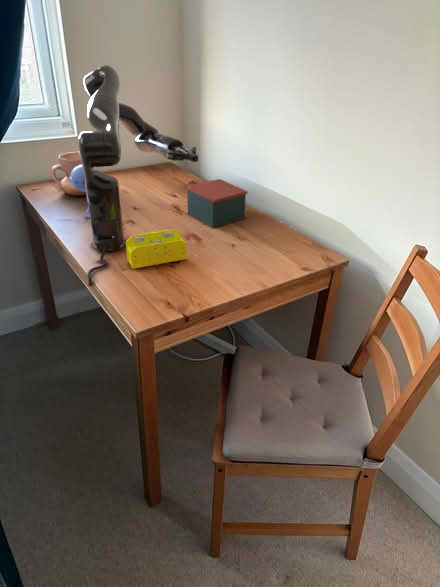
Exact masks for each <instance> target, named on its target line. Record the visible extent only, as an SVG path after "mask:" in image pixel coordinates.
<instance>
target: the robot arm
mask: <svg viewBox="0 0 440 587" xmlns="http://www.w3.org/2000/svg"><path fill="white" fill-rule="evenodd" d="M82 83H83V85H84V89H85V91H86V92H87V94H88V95H89V97H90V99H89V101H88V104H87V120H88V123H89V124H90V127H92V128H93V129H94V130H95V131H82V132H80V134H79V136H78V151H80V156H81V161H82V166H83V171H84V178H85V185H86V192H87V197H86V201H87V200H88V202H87V206H88V207H89V211H88V213H89V216H90V218H89V221H90V227H91V228H90V229H91V235H92V243H93V248H94V249H95V250H96V251H98V252H101V254H100V258H99V261H100V262H101V263H102V264H100V265H98V266H94V267H92V268H90V270H88V271H87V277H88V286H89V287H91V286H92V282H93V280H92V273H94V271H96V270H100V269H104V268H105V267H106V266H107V261H105V260H104V257H105V254H106V252H111V251H112V252H113V251H120V250H121V249H122V248H123V247H124V246H126V239H125V232H124V231H125V230H124V224H123V223H124V222H123V212H122V201H121V192H120V182H119V179H118V178H116V177H115V176H113V175H109V174H107V173H104V172H101V171H100V170H99V169H98V168H111V167H115V166H118V165H119V164H120V162H121V159H122V158H121V157H122V146H121V138H120V123H121V124H122V126H123V127H124V128H125V129H126V130H127V131H128V133H130V134H131V135H132V136H136V137H135V138H134V140H133V142H134V143H133V144H134V146H135V148H137V150H139V151H140V152H143V153H157V154H159V155H160V156H161V157H164V158H166V159H167V160H171V161H174V162H175V161H180V162H181V161H182V162H183V161H190V162H192V163H196V162H199V155H198V154H197V146H193V147H192V148H189V147H188V146H185V145H184V144H183V142H182V141H181V140H180V139H177V138H174V137H172V136H170V135H164V134H162V133H160V132H159V130H158V128H157V127H155V126H153V125H152V124H150V123H148V122H147V121H145V120H144V119H143V117H142V116H141V115H140V113H138V111H137V110H136V109H135V108H134V107H132V106H130V105H128V104H124V103H121V102H120V97H121V92H122V82H121V79H120V76H119V74H118V73H117V71H116V69H115V68H113V66H111V65H108V64H105V65H101V66H100V67H98V68H96V69H95V70H93V71H91V72H90V73H88V74H87V75H85V76H84V78H83V82H82ZM88 207H87V208H88Z"/></svg>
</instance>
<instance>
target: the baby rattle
mask: <svg viewBox="0 0 440 587" xmlns="http://www.w3.org/2000/svg"><path fill="white" fill-rule="evenodd" d="M70 180H71V183H72V184H73V186H74V187H75V188H76V189H78V190H80V191H85V192H86V185H85V178H84V171H83V166H82V165H79V166H77V167H75V168H74V169H73V171H72V173H71V176H70ZM85 196H86V198H87V192H86V195H85ZM86 201H87V202H86V203H88V200H87V199H86ZM87 213H89V207H87V209H86V210H85V211H84V217H85V218H87V219H90V215H87Z"/></svg>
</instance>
